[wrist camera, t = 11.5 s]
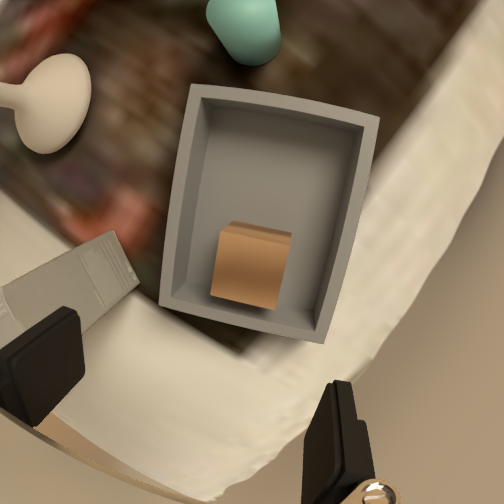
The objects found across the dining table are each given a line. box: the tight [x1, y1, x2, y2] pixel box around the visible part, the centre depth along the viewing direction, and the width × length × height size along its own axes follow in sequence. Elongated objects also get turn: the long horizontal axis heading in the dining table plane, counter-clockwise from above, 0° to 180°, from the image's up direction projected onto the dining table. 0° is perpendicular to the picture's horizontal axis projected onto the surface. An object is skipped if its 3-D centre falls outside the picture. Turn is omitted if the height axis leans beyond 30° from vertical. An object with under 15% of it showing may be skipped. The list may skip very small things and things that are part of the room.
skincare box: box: [0, 230, 140, 349], centre depth 25 cm, size 8×7×16 cm
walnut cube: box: [210, 220, 292, 310], centre depth 26 cm, size 5×5×5 cm
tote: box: [159, 84, 380, 344], centre depth 26 cm, size 18×14×5 cm
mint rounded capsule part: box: [206, 0, 282, 66], centre depth 21 cm, size 5×5×7 cm
